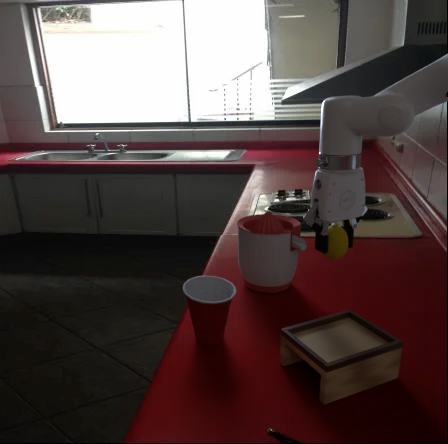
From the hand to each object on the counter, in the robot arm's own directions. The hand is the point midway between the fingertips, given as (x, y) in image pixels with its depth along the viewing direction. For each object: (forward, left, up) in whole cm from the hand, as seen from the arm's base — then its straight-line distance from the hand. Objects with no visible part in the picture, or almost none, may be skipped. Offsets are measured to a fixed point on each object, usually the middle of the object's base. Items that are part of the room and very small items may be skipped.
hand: (333, 247), depth 87 cm
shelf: (+10, +14, -17) cm, 24 cm away
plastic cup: (+26, -5, -17) cm, 32 cm away
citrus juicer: (+1, -20, -17) cm, 27 cm away
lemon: (0, 0, -3) cm, 3 cm away
